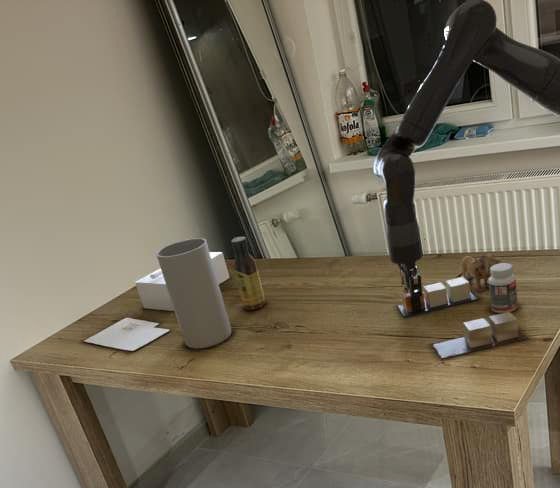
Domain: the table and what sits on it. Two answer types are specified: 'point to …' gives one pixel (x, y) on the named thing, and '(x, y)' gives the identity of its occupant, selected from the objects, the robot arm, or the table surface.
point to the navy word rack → (444, 296)
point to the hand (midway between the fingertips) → (414, 306)
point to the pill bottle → (502, 288)
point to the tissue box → (156, 290)
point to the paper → (127, 334)
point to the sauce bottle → (247, 275)
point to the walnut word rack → (482, 336)
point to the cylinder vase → (194, 293)
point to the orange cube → (408, 303)
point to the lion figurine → (478, 268)
